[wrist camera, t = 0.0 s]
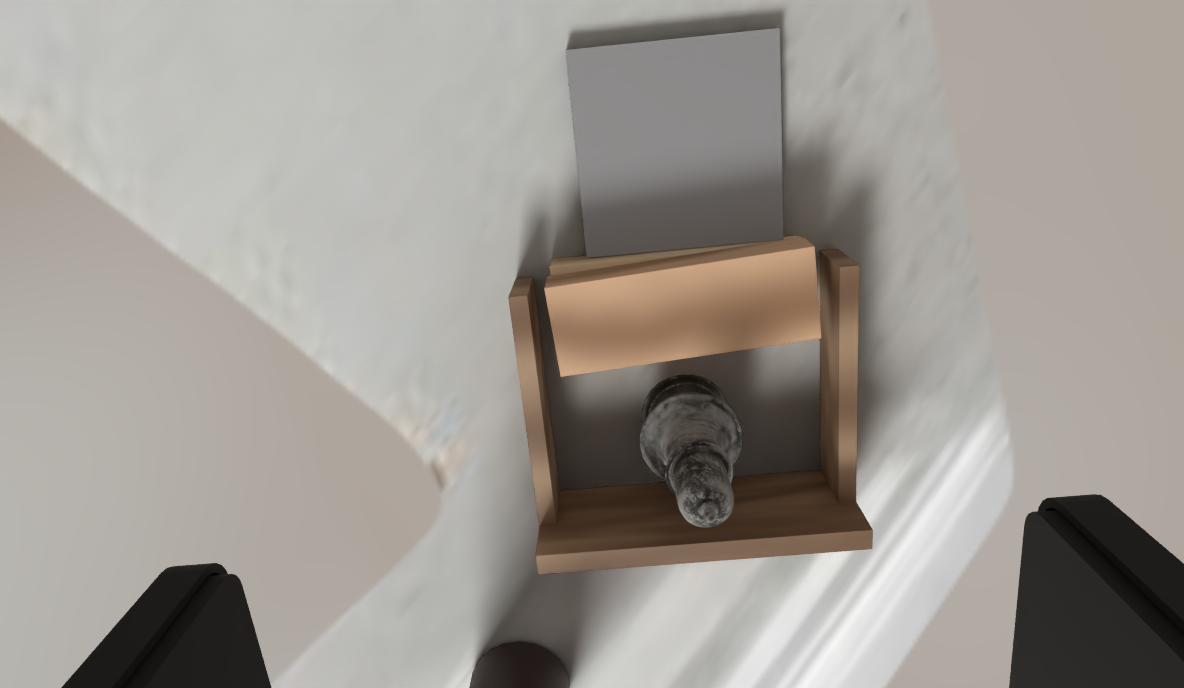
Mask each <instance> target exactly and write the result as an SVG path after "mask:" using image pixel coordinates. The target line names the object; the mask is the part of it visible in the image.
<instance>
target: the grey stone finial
mask: <svg viewBox="0 0 1184 688" xmlns="http://www.w3.org/2000/svg"><path fill="white" fill-rule="evenodd" d="M642 423H643V426H642V429H641V433H640V449H641V452H642V456H643V459H644V461H645V462H646V464H647V465H648V467H649V468H650V470H651V471H653V472H654V473H655V474H656V475H657V476H658V477H659V478H661V479H663V480H665V481H667V485H668V487H669V488H670V490H671V491H672V493H673V494H675V495H676V498H677V503H678V507H679V510H680V512H681V513H682V515H683V517H684V518H685V519H686V520H687V521H688V522H689V523H691V524H693V525H695V526H698V527H713V526H717V525H719V524H721V523H722V522H724V521H725V520H726V519H727V518H728V517H729V515H730V514H731V512H732V509H733V506H734V494H733V490H732V487H731V481H732V478H733V465H734V463H735V462H736V460H737V459H738V457H739V454H740V451H741V448H742V443H743V432H742V428H741V424H740V421H739V419H738V418H737V416H736V414H735V413H734V411H733V410H732V409H731V408H730V407H729V406H728V405H727V402H726V399H725V397H724V396H723V394H722V392H721V391H720V389H719V388H718V387H716V386H715V385H714V384H713V383H712V382H710V381H708V380H706V379H704V378H703V377H698V376H694V375H678V376H675V377H671V378H668V379H666V380H664V381H663V382H661V383H659V384H658V385H657V386H656V387H655V388H654V389H652V390H651V391H650V393H649V395H648V396H647V398H646V400H645V402H644V406H643V409H642Z"/></svg>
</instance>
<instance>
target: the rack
mask: <svg viewBox="0 0 1184 688" xmlns="http://www.w3.org/2000/svg"><path fill="white" fill-rule="evenodd" d="M508 298H509V306H510V313H511V320H512V328H513V335H514V342H515V350H516V357H517V364H518V372H519V379H520V387H521V394H522V401H523V409H524V416H525V423H526V431H527V438H528V446H529V453H530V460H531V468H532V475H533V482H534V490H535V497H536V504H537V512H538V519H539V534H538V541H537V549H536V563H537V570H538V574H551V573H564V572H577V571H590V570H604V569H617V568H630V567H643V566H656V565H669V564H682V563H695V562H708V561H721V560H735V559H748V558H761V557H774V556H787V555H800V554H813V553H826V552H839V551H852V550H866V549H872V540H873V530H872V528H871V526H870V525H869V523H868V521H867V519H866V518H865V516H864V514H863V513H862V511H861V509H860V508H859V506H858V504H857V502H856V460H857V388H858V315H859V265H858V264H856V263H855V262H854V261H853V260H851V259H850V258H849V257H847V256H846V255H845V254H843V253H842V252H841V251H840V250H838V249H832V250H821V251H820V327H821V338H820V470H811V471H799V472H786V473H774V474H762V475H749V476H737V477H733V478H732V481H731V487H732V490H733V494H734V506H733V509H732V512H731V514H730V515H729V517H728V518H727V519H726V520H725V521H724V522H722V523H721V524H719V525H717V526H713V527H698V526H695V525H693V524H691V523H689V522H688V521H687V520H686V519H685V518H684V517H683V515H682V513H681V512H680V510H679V507H678V503H677V498H676V495H675V494H673V493H672V491H671V490H670V488H669V487H668V485H667V482H662V483H650V484H637V485H625V486H613V487H600V488H588V489H575V490H563V491H560V489H559V481H558V473H557V465H556V457H555V449H554V441H553V433H552V425H551V417H550V409H549V401H548V393H547V384H546V376H545V368H544V360H543V352H542V344H541V336H540V328H539V320H538V312H537V304H536V296H535V288H534V280H533V277H526V278H516V280H515V282H514V285H513V287H512V290H511V292H510V295H509V297H508Z"/></svg>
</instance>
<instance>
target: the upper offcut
mask: <svg viewBox="0 0 1184 688" xmlns="http://www.w3.org/2000/svg"><path fill="white" fill-rule="evenodd" d="M544 290H545V295H546V301H547V306H548V311H549V317H550V322H551V327H552V333H553V338H554V343H555V349H556V354H557V359H558V365H559V370H560V375H561V377H563V376H570V375H577V374H584V373H590V372H597V371H604V370H611V369H617V368H624V367H631V366H638V365H645V364H651V363H658V362H665V361H672V360H678V359H685V358H692V357H699V356H705V355H712V354H719V353H726V352H732V351H739V350H746V349H753V348H759V347H766V346H773V345H780V344H786V343H793V342H800V341H807V340H813V339H820V338H821V327H820V314H819V300H818V286H817V273H816V259H815V246H814V245H812V244H811V243H810V242H809V241H807V240H806V239H805V238H804V237H797V238H791V239H784V240H778V241H772V242H765V243H759V244H752V245H746V246H740V247H733V248H727V249H720V250H714V251H708V252H701V253H695V254H688V255H682V256H676V257H669V258H663V259H656V260H650V261H644V262H637V263H631V264H624V265H618V266H612V267H605V268H599V269H592V270H586V271H580V272H573V273H567V274H560V275H554V276H547V279H546V283H545V287H544Z"/></svg>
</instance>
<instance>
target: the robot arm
mask: <svg viewBox="0 0 1184 688" xmlns="http://www.w3.org/2000/svg"><path fill="white" fill-rule="evenodd" d="M1015 621H1016V622H1015V631H1014V641H1013V652H1012V664H1011V673H1010V674H1011V675H1010V685H1009V688H1184V564H1183V563H1182V562H1181V561H1180V560H1179V559H1177V558H1176V557H1175V556H1174V555H1173V554H1172V553H1170V552H1169V551H1168V550H1167V549H1166V548H1165V547H1163V546H1162V545H1161V544H1159V542H1157V541H1156V540H1155V539H1154V538H1153V537H1152V536H1150V535H1149V534H1148V533H1147V532H1146V531H1145V530H1143V529H1142V528H1141V527H1140V526H1139V525H1137V524H1136V523H1135V522H1134V521H1133V520H1132V519H1131V518H1129V517H1128V516H1127V515H1126V514H1125V513H1123V512H1122V511H1121V510H1120V509H1119V508H1118V507H1116V506H1115V505H1114V504H1113V503H1112V502H1111V501H1109V500H1108V499H1107V498H1105V497H1103V496H1102V495H1095V494H1094V495H1080V496H1068V497H1056V498H1047V499H1045V500H1043V501H1042V503H1041V504H1040V506H1039V509H1038V512H1031V513H1029V514H1028V516H1027V517H1026V520H1025V525H1024V535H1023V545H1022V556H1021V567H1020V578H1019V588H1018V599H1017V609H1016V620H1015ZM62 688H271V685H270V681H269V678H268V675H267V671H266V667H265V664H264V660H263V657H262V653H261V650H260V646H259V643H258V639H257V636H256V632H255V629H254V625H253V622H252V618H251V615H250V611H249V607H248V604H247V600H246V597H245V593H244V590H243V587H242V584H241V581H240V579H239V578H238V577H237V576H236V575H234V574H227V571H226V570H225V568H224V567H223V566H222V565H220V564H217V563H212V564H198V565H185V566H174V567H169V568H167V569H165V570H164V571H163V572H162V573H161V574H160V575H159V576H158V577H157V578H156V579H155V581H154V582H153V583H152V584H151V585H150V586H149V588H148V589H147V590H146V591H145V592H144V593H143V594H142V596H141V597H140V598H139V599H138V600H137V601H136V603H135V604H134V605H133V606H132V607H131V608H130V609H129V611H128V612H127V613H126V614H125V615H124V616H123V617H122V619H121V620H120V621H119V622H118V623H117V624H116V625H115V627H114V628H113V629H112V630H111V631H110V632H109V634H108V635H107V636H106V637H105V638H104V639H103V641H102V642H101V643H100V644H99V645H98V646H97V647H96V649H95V650H94V651H93V652H92V653H91V654H90V655H89V657H88V658H87V659H86V660H85V661H84V663H83V664H82V665H81V666H80V667H79V668H78V669H77V671H76V672H75V673H74V674H73V675H72V676H71V678H70V679H69V680H68V681H67V682H66V683H65V684H64V685H63V687H62Z"/></svg>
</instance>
